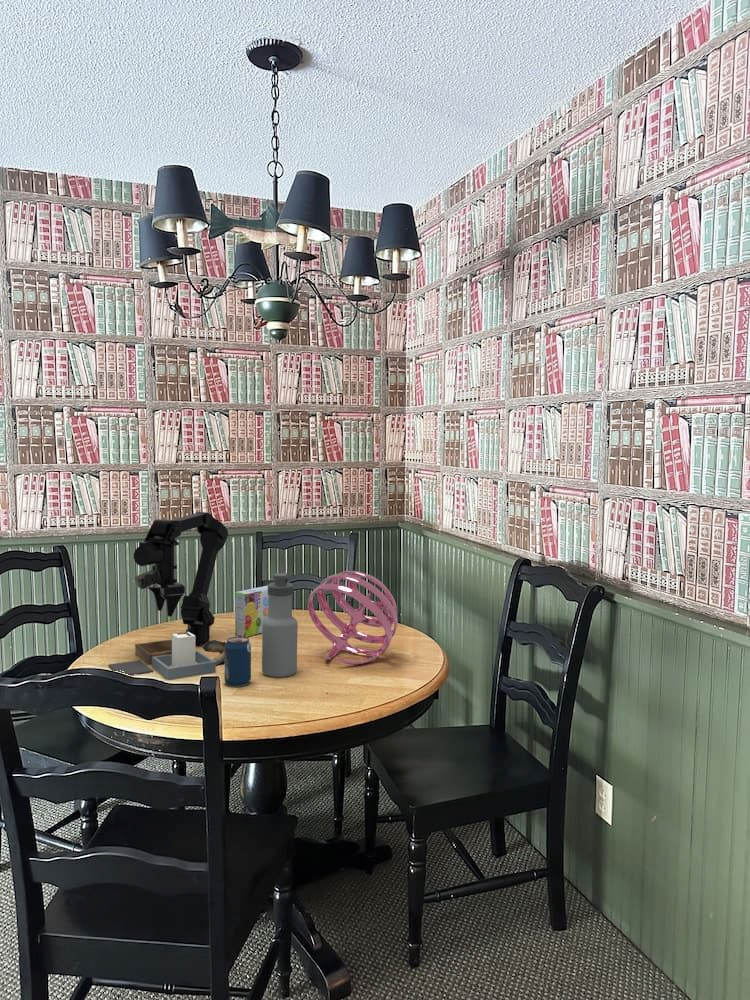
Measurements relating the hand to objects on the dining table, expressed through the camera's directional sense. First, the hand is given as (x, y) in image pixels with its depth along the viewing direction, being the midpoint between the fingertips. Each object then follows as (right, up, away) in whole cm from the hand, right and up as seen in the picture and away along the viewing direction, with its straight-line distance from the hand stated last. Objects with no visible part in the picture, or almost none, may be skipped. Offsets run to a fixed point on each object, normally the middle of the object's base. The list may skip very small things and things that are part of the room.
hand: (164, 613), depth 219 cm
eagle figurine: (+18, -14, -3) cm, 23 cm away
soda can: (+26, -15, -23) cm, 38 cm away
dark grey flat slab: (-6, -14, -13) cm, 20 cm away
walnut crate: (0, -13, +1) cm, 13 cm away
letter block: (+9, -14, -12) cm, 21 cm away
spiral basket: (+57, -14, +3) cm, 59 cm away
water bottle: (+36, -15, -13) cm, 41 cm away
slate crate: (+9, -14, -12) cm, 21 cm away
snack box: (+24, -12, +34) cm, 44 cm away
